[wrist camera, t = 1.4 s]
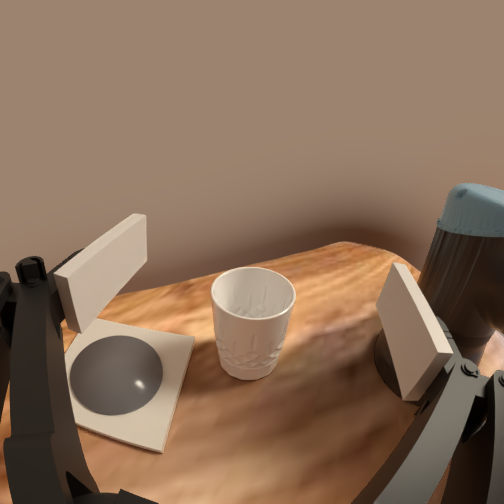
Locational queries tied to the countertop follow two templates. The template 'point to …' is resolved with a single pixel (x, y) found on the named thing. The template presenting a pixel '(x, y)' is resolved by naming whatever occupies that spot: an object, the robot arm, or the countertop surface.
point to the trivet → (127, 381)
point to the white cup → (251, 319)
